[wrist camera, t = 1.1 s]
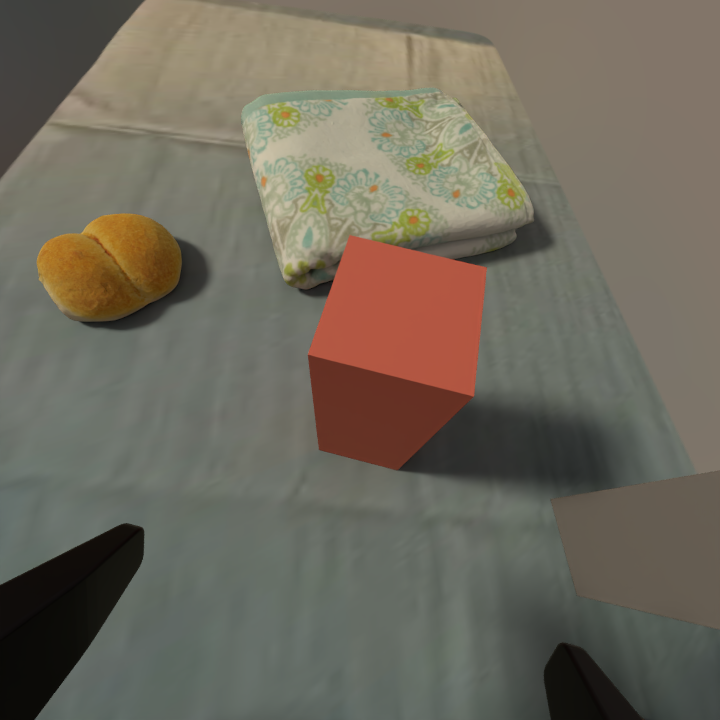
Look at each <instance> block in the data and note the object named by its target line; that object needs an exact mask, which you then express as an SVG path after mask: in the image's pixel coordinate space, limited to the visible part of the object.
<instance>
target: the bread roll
mask: <svg viewBox="0 0 720 720" xmlns="http://www.w3.org/2000/svg"><path fill="white" fill-rule="evenodd" d="M181 266H182V257H181V250H180V247H179V245H178V243H177V241H176V240H175V239H174V237H173V236H172V235H171V234H170V233H169V232H168V231H167V230H166V229H165V228H164V227H163V226H162V225H160V224H159V223H157V222H156V221H154V220H152V219H150V218H147V217H145V216H141V215H137V214H112V215H105V216H100V217H99V218H97V219H95V220H93V221H92V222H91V223H89V224H88V226H87V227H86V228H85V229H84V231H83V232H82V233H81V234H64V235H61V236H58V237H55V238H53V239H51V240H49V241H48V242H46V243H45V244H44V246H43V247H42V249H41V251H40V253H39V255H38V258H37V267H38V272H39V280H40V281H41V282H42V283H43V285H44V287H45V289H46V290H47V291H48V293H49V295H50V297H51V298H52V300H53V301H54V302H55V304H56V305H57V306H58V308H59V309H60V310H61V311H62V312H63V313H64V314H65V315H66V316H67V317H68V318H69V319H72V320H74V321H83V322H93V321H113V320H117V319H121V318H123V317H125V316H128V315H130V314H132V313H134V312H136V311H137V310H139V309H141V308H143V307H144V306H145V305H147V304H148V303H151V302H154V301H157V300H159V299H160V298H162V297H164V296H165V295H167V294H168V293H170V292H171V291H172V290H173V289H174V288H175V287H176V286H177V284H178V282H179V278H180V273H181Z"/></svg>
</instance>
